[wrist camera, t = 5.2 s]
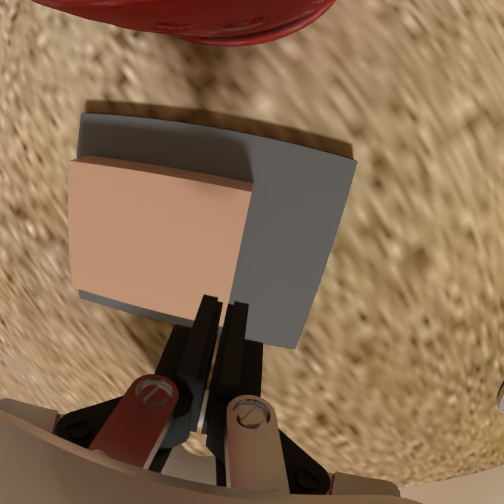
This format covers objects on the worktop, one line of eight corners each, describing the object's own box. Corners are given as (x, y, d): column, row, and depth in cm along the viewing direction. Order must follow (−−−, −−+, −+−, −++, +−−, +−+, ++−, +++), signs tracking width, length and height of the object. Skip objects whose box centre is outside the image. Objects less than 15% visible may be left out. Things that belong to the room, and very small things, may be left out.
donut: (274, 390, 24) (271, 499, 15) (265, 413, 26) (260, 512, 16) (154, 367, 24) (115, 468, 15) (155, 392, 25) (123, 485, 16)
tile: (251, 192, 15) (69, 161, 14) (223, 326, 18) (72, 287, 18) (254, 182, 17) (89, 154, 16) (228, 306, 20) (87, 271, 20)
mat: (353, 159, 16) (357, 161, 16) (294, 342, 22) (294, 349, 21) (88, 112, 16) (81, 113, 15) (84, 292, 21) (79, 297, 21)
